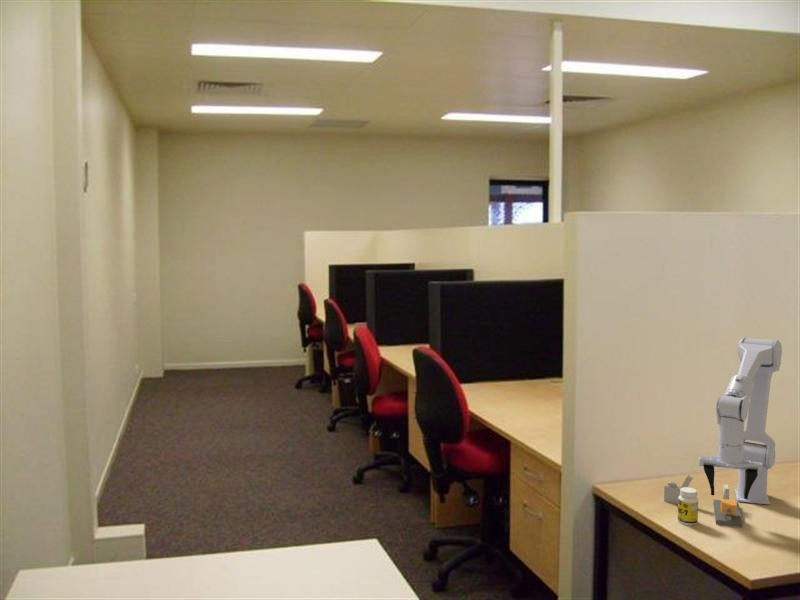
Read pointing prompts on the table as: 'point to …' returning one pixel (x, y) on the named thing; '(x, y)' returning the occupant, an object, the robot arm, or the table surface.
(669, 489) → the lighter
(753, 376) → the robot arm
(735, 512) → the orange cube with peg
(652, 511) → the table surface
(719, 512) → the linear slider rail
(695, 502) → the supplement bottle
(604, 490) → the table surface
